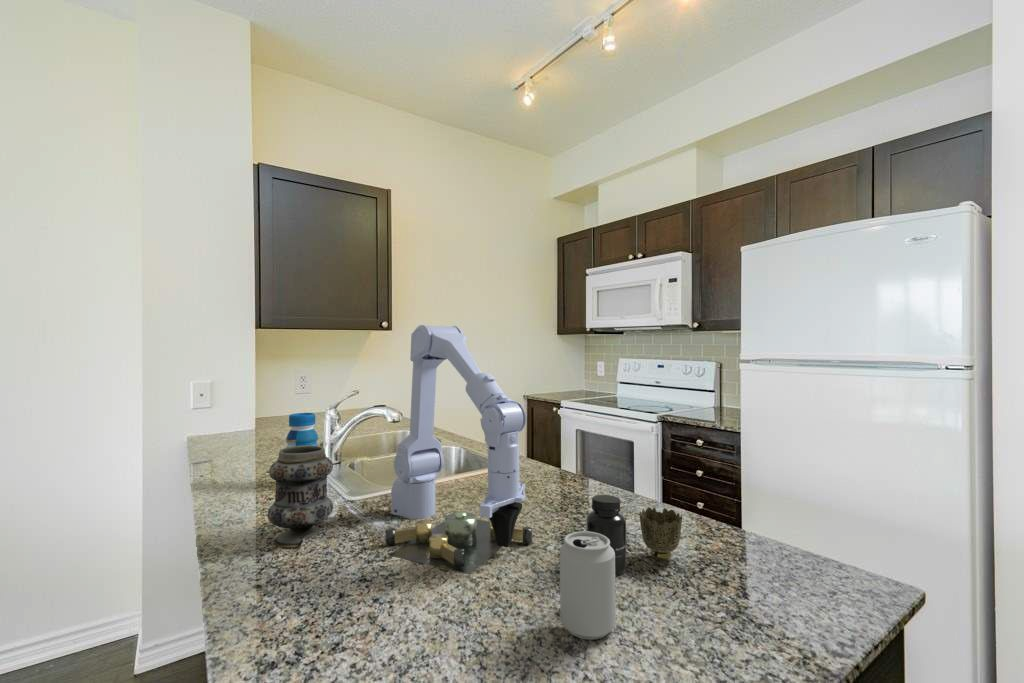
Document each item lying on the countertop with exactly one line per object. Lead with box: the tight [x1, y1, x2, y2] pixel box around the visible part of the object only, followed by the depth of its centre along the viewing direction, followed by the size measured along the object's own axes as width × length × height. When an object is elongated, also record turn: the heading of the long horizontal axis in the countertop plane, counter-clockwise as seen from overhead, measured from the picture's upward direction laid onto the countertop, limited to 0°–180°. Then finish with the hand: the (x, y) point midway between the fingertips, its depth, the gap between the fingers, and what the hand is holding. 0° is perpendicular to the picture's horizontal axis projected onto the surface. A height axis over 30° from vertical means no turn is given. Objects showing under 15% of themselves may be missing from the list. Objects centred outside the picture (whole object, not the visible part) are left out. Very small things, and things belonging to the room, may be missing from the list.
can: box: [559, 530, 617, 641], centre depth 65 cm, size 8×8×12 cm
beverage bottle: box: [285, 412, 319, 448], centre depth 132 cm, size 8×8×20 cm
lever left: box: [385, 519, 433, 546], centre depth 90 cm, size 9×3×3 cm, turn 110°
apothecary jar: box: [267, 445, 334, 549], centre depth 96 cm, size 12×12×18 cm
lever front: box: [430, 534, 465, 568], centre depth 82 cm, size 9×3×3 cm, turn 42°
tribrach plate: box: [388, 510, 525, 575], centre depth 91 cm, size 17×22×6 cm
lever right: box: [489, 520, 533, 544], centre depth 91 cm, size 9×3×3 cm, turn 64°
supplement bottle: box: [585, 494, 627, 577], centre depth 82 cm, size 7×7×12 cm
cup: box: [638, 507, 683, 562], centre depth 86 cm, size 8×7×8 cm
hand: (503, 545), depth 86 cm, fingers closed
